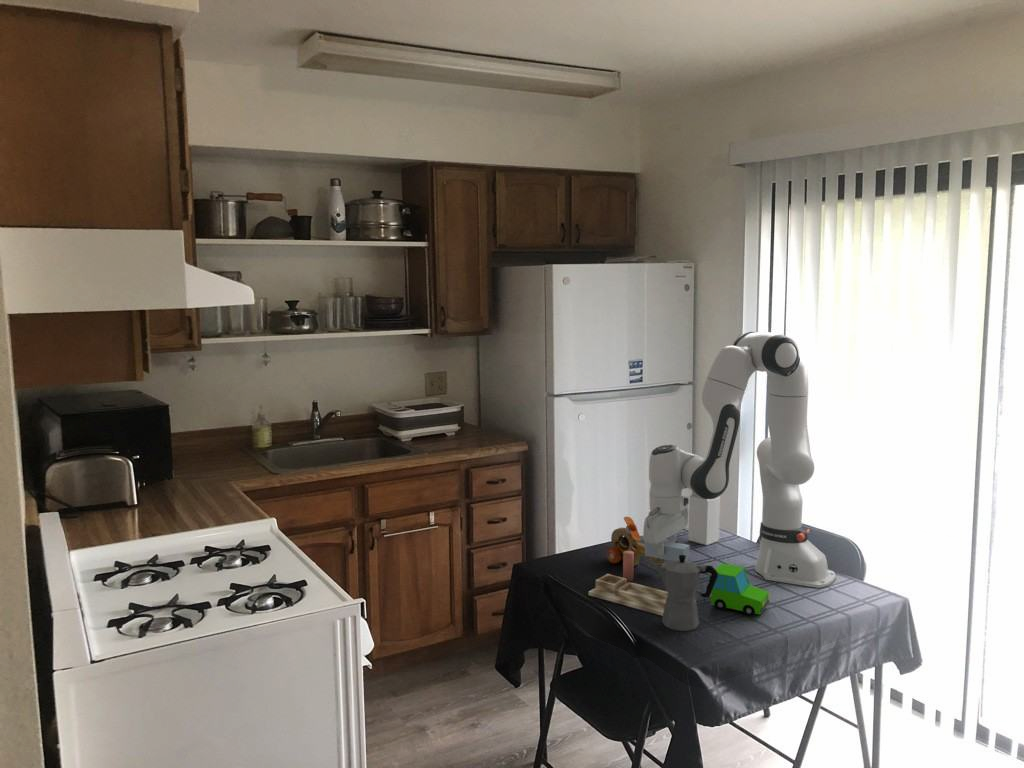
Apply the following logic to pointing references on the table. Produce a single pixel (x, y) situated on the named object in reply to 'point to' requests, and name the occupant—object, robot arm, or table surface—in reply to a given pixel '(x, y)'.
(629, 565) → the tail peg
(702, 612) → the table surface
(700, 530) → the milk carton
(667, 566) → the coffeepot
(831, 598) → the table surface
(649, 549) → the blue slab with cube
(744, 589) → the toy car
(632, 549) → the toy helicopter
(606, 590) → the jig
